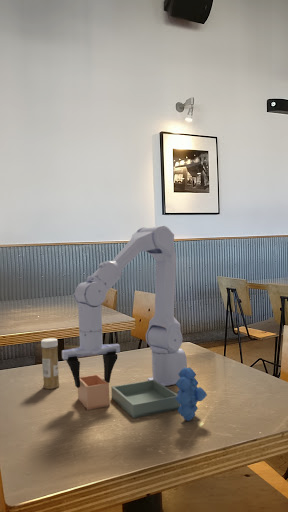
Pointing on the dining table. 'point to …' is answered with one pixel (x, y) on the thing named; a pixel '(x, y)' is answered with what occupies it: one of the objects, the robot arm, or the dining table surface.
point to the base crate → (144, 398)
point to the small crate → (93, 392)
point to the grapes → (188, 393)
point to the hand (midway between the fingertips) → (92, 384)
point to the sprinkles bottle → (50, 363)
